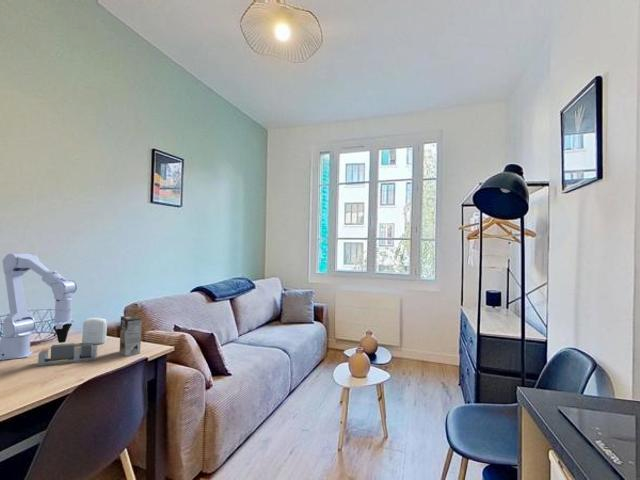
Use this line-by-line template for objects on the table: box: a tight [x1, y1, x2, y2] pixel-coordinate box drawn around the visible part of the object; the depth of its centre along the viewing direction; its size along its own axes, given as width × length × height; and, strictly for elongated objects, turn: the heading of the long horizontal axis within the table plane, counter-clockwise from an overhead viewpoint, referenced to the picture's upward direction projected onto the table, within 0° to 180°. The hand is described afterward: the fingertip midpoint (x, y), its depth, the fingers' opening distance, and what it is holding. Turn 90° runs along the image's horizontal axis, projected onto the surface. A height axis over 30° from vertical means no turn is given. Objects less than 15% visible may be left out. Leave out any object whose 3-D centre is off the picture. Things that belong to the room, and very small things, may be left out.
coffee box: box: [119, 314, 143, 357], centre depth 152 cm, size 9×6×16 cm
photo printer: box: [81, 317, 108, 345], centre depth 163 cm, size 10×4×12 cm, turn 98°
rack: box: [37, 343, 98, 367], centre depth 138 cm, size 19×6×6 cm, turn 118°
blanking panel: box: [50, 342, 76, 361], centre depth 138 cm, size 8×2×7 cm, turn 118°
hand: (62, 342), depth 139 cm, fingers closed
